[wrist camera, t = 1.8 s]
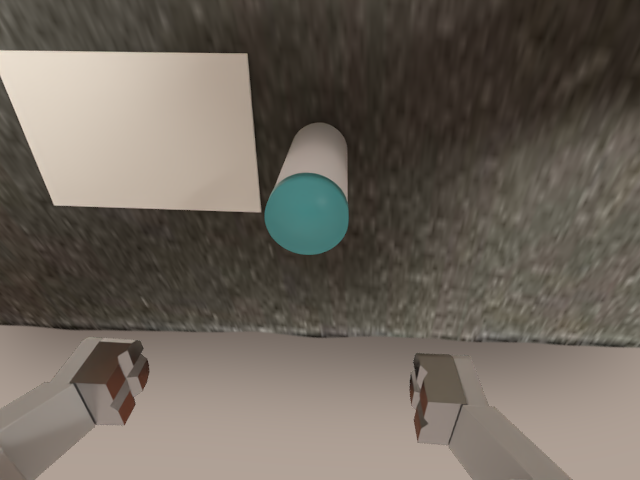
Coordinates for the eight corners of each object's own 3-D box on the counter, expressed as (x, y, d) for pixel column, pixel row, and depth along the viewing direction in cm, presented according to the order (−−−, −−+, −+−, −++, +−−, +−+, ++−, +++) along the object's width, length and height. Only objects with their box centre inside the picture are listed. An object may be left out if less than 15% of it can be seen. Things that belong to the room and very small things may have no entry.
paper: (247, 53, 26) (246, 54, 25) (261, 210, 32) (260, 212, 32) (-7, 50, 26) (-11, 50, 26) (56, 203, 33) (54, 205, 33)
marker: (349, 115, 27) (350, 182, 17) (346, 168, 30) (346, 256, 19) (292, 113, 28) (261, 179, 17) (294, 167, 30) (267, 253, 20)
